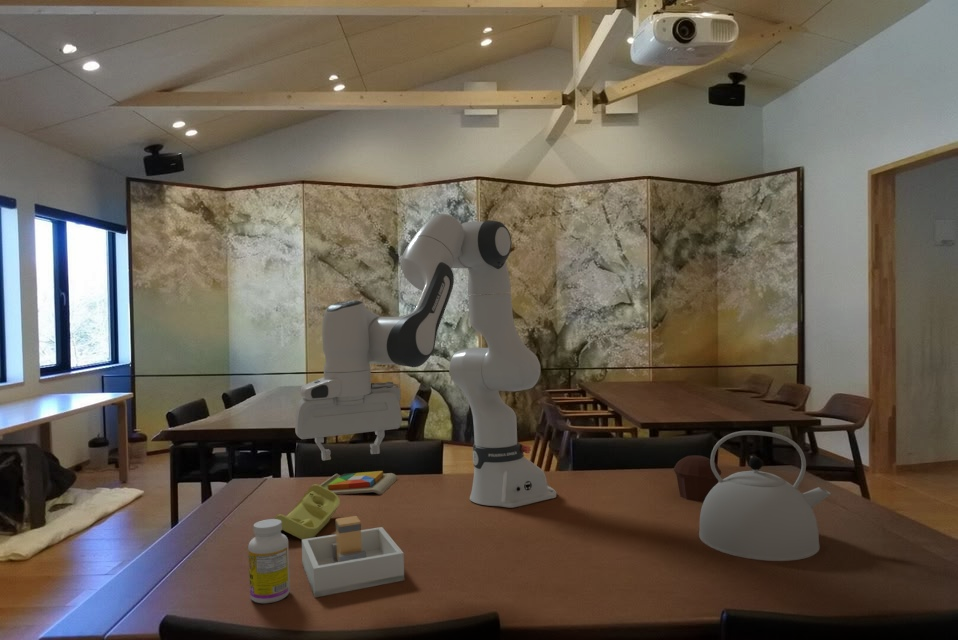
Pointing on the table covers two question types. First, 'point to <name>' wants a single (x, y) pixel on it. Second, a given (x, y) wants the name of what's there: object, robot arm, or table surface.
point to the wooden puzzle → (360, 482)
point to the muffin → (695, 477)
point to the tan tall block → (348, 535)
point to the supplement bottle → (268, 562)
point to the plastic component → (310, 513)
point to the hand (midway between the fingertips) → (351, 456)
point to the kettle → (760, 512)
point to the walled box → (352, 563)
